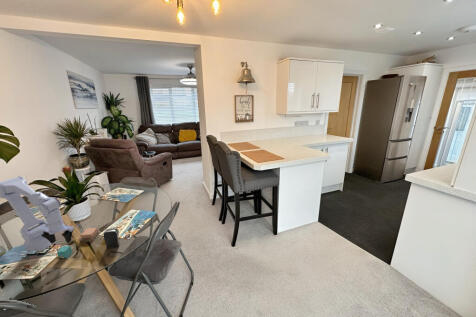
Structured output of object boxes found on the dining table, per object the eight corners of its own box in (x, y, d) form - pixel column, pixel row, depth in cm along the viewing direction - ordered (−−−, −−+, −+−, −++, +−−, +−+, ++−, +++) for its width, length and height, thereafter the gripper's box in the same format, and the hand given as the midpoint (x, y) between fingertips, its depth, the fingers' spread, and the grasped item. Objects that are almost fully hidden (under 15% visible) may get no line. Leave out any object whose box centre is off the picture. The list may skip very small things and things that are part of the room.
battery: (121, 242, 113) (118, 226, 110) (119, 246, 110) (116, 231, 106) (108, 243, 111) (105, 228, 108) (105, 248, 108) (102, 232, 104)
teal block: (59, 259, 100) (56, 251, 98) (64, 253, 104) (62, 246, 102) (67, 258, 100) (64, 251, 99) (72, 252, 104) (70, 245, 103)
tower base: (80, 242, 112) (79, 239, 111) (87, 234, 119) (86, 231, 118) (92, 241, 113) (91, 238, 112) (99, 233, 120) (98, 230, 119)
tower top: (81, 238, 112) (80, 235, 111) (87, 231, 118) (86, 228, 117) (92, 237, 113) (91, 234, 112) (97, 230, 119) (97, 227, 118)
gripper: (31, 226, 90) (39, 248, 94) (64, 225, 92) (70, 246, 96) (44, 217, 97) (51, 238, 101) (74, 216, 99) (80, 237, 103)
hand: (61, 242), depth 99 cm, fingers open, 7 cm apart
